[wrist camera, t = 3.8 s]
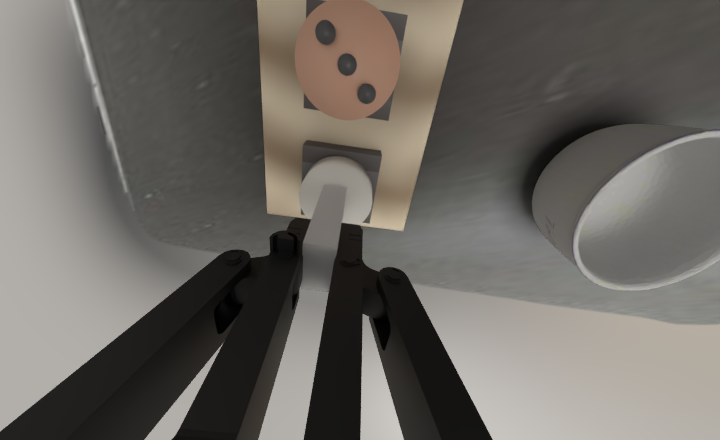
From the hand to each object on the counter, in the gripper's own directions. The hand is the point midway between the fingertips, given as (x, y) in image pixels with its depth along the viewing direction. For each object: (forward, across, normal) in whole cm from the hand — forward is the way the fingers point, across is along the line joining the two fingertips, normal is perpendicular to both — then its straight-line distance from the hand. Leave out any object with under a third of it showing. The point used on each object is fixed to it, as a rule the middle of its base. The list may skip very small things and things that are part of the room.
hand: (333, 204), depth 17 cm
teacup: (+6, +22, +2) cm, 23 cm away
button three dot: (+2, 0, +8) cm, 8 cm away
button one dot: (+4, 0, 0) cm, 4 cm away
